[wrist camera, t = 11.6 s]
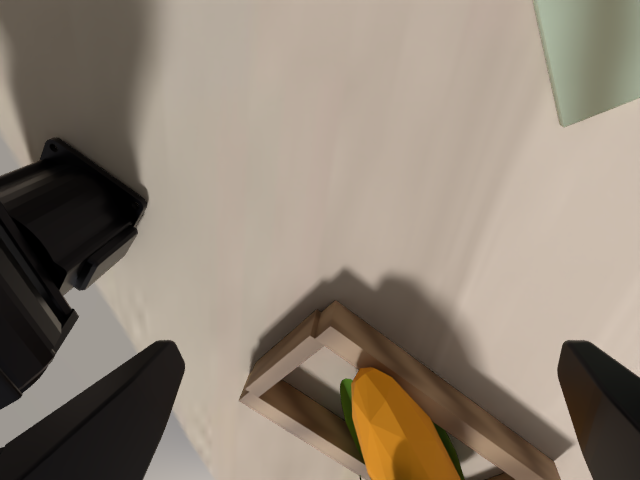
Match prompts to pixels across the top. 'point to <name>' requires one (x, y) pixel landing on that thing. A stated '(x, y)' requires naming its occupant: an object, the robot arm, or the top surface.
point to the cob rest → (416, 380)
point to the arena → (590, 54)
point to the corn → (395, 431)
